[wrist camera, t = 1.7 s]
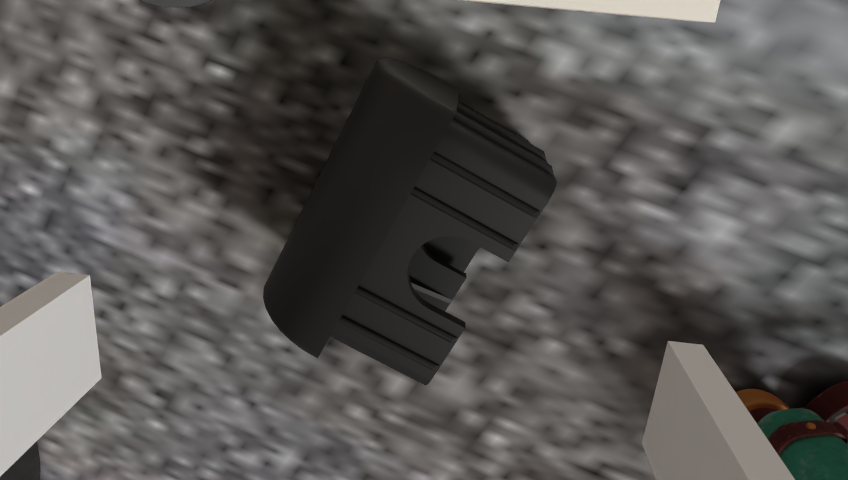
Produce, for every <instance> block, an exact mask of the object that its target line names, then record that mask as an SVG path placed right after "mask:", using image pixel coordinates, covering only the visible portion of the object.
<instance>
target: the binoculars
mask: <svg viewBox="0 0 848 480" xmlns="http://www.w3.org/2000/svg"><path fill="white" fill-rule="evenodd" d="M736 394H737V395H738V397H739V398H740V400H741V401H742V403H743V404H744V406H745V407H746V408H747V410H748V411H749V413H750V414H751V416H752V417H753V419H754V420H755V422H756V423H757V425H758V426H759V427H760V429H761V430H762V432H763V433H764V435H765V436H766V438H767V439H768V441H769V442H770V444H771V445H772V447H773V448H774V449H775V451H776V452H777V454H778V455H779V457H780V458H781V460H782V461H783V463H784V464H785V466H786V467H787V469H788V470H789V471H790V473H791V474H792V476H793V477H794V479H795V480H848V380H847V381H844V382H841V383H838V384H836V385H834V386H832V387H830V388H828V389H826V390H825V391H823V392H822V393H820V394H819V395H817V396H816V397H815V398H814V399H813V400H812V401H811V402H809V403H808V405H807V406H806V407H803V408H793V409H789V408H788V407H787V406H786V405H785V404H784V403H783V402H782V400H780V399H779V398H777V397H776V396H775V395H773V394H771V393H768V392H765V391H763V390H759V389H744V390H740V391H737V392H736Z"/></svg>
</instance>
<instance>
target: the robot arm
mask: <svg viewBox="0 0 848 480" xmlns="http://www.w3.org/2000/svg"><path fill="white" fill-rule="evenodd" d="M100 379H101V370H100V361H99V352H98V343H97V335H96V326H95V317H94V308H93V299H92V290H91V282H90V275H83V274H75V273H66V272H56V273H54V274H53V275H51V276H50V277H48V278H46V279H45V280H43V281H41V282H40V283H38V284H37V285H35V286H33V287H32V288H30V289H29V290H27V291H25V292H24V293H22V294H20V295H19V296H17V297H16V298H14V299H12V300H11V301H9V302H7V303H6V304H4V305H3V306H1V307H0V480H40V458H39V451H38V446H37V443H36V441H37V440H38V439H39V438H40V437H41V436H42V435H43V434H44V433H45V432H46V431H48V430H49V429H50V428H51V427H52V426H53V425H54V424H55V423H56V422H57V421H58V420H59V419H60V418H61V417H62V416H63V415H64V414H65V413H66V412H67V411H68V410H69V409H70V408H71V407H72V406H73V405H74V404H75V403H76V402H77V401H78V400H79V399H80V398H81V397H82V396H83V395H84V394H85V393H86V392H88V391H89V390H90V389H91V388H92V387H93V386H94V385H95V384H96V383H97V382H98V381H99V380H100ZM642 445H643V448H644V450H645V453H646V456H647V458H648V461H649V463H650V466H651V469H652V471H653V474H654V477H655V479H656V480H795V479H794V477H793V476H792V474H791V473H790V471H789V470H788V469H787V467H786V466H785V464H784V463H783V461H782V460H781V458H780V457H779V455H778V454H777V452H776V451H775V449H774V448H773V447H772V445H771V444H770V442H769V441H768V439H767V438H766V436H765V435H764V433H763V432H762V430H761V429H760V427H759V426H758V425H757V423H756V422H755V420H754V419H753V417H752V416H751V414H750V413H749V411H748V410H747V408H746V407H745V406H744V404H743V403H742V401H741V400H740V398H739V397H738V395H737V394H736V392H735V391H734V389H733V388H732V386H731V385H730V384H729V382H728V381H727V379H726V378H725V376H724V375H723V373H722V372H721V370H720V369H719V367H718V366H717V364H716V363H715V362H714V360H713V359H712V357H711V356H710V354H709V353H708V351H707V350H706V348H705V347H704V345H700V344H691V343H682V342H673V341H668V342H667V346H666V350H665V354H664V358H663V362H662V366H661V370H660V374H659V378H658V382H657V386H656V390H655V393H654V397H653V401H652V405H651V409H650V413H649V417H648V421H647V425H646V429H645V433H644V437H643V441H642Z"/></svg>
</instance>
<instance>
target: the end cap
mask: <svg viewBox="0 0 848 480" xmlns="http://www.w3.org/2000/svg"><path fill="white" fill-rule="evenodd" d="M458 97H459V89H457V88H455V87H453V86H452V85H450V84H448V83H446V82H444V81H442V80H440V79H439V78H437V77H435V76H433V75H431V74H429V73H427V72H425V71H423V70H420V69H418V68H416V67H414V66H411V65H409V64H407V63H404V62H401V61H399V60H396V59H391V58H381V59H379V60H378V61H377V62H376V64H375V66H374V68H373V70H372V72H371V74H370V76H369V78H368V80H367V82H366V84H365V86H364V88H363V90H362V92H361V94H360V96H359V98H358V100H357V102H356V104H355V106H354V108H353V110H352V112H351V114H350V116H349V118H348V120H347V122H346V124H345V126H344V128H343V130H342V132H341V134H340V136H339V138H338V140H337V142H336V144H335V146H334V148H333V150H332V152H331V154H330V156H329V158H328V160H327V162H326V164H325V166H324V168H323V170H322V172H321V174H320V176H319V178H318V180H317V182H316V184H315V186H314V188H313V190H312V192H311V194H310V196H309V198H308V200H307V202H306V204H305V206H304V208H303V210H302V212H301V214H300V216H299V218H298V220H297V222H296V224H295V226H294V228H293V230H292V232H291V234H290V236H289V238H288V240H287V242H286V244H285V246H284V248H283V250H282V252H281V254H280V256H279V258H278V260H277V262H276V264H275V266H274V268H273V270H272V272H271V274H270V276H269V278H268V280H267V282H266V284H265V286H264V293H263V299H264V303H265V307H266V310H267V312H268V314H269V315H270V317H271V319H272V321H273V322H274V323H275V325H276V326H277V327H278V328H279V330H280V331H281V332H282V333H283V334H284V335H285V336H286V337H287V338H288V339H290V340H291V341H292V342H293V343H295V344H296V345H297V346H299V347H300V348H301V349H303V350H304V351H306V352H308V353H309V354H311V355H313V356H314V357H316V358H318V357H319V355H320V353H321V351H322V350H323V348H324V346H325V344H326V342H327V341H328V339H329V337H332V338H334V339H336V340H338V341H340V342H342V343H344V344H346V345H348V346H350V347H352V348H354V349H355V350H357V351H359V352H361V353H363V354H365V355H367V356H369V357H371V358H373V359H375V360H377V361H379V362H381V363H383V364H385V365H387V366H389V367H391V368H393V369H395V370H397V371H398V372H400V373H402V374H404V375H406V376H408V377H410V378H412V379H414V380H416V381H418V382H420V383H422V384H424V385H427V384H428V383H429V382H430V381H431V379H432V378H433V376H434V375H435V373H436V372H437V370H438V369H439V367H440V366H441V364H442V363H443V361H444V360H445V358H446V357H447V355H448V354H449V352H450V351H451V349H452V348H453V346H454V344H455V343H456V341H457V340H458V338H459V337H460V335H461V334H462V332H463V331H464V329H465V322H464V321H462V320H460V319H458V318H456V317H454V316H452V315H451V314H449V313H447V312H445V311H446V309H447V307H448V306H449V304H450V303H451V301H452V300H453V298H454V296H455V295H456V293H457V292H458V290H459V288H460V287H461V285H462V284H463V282H464V281H465V279H466V273H464V271H465V269H466V268H467V266H468V265H469V263H470V261H471V260H472V258H473V257H474V255H475V253H476V252H477V250H478V249H479V247H482V248H483V249H485V250H487V251H489V252H491V253H493V254H495V255H496V256H498V257H500V258H502V259H504V260H506V261H507V262H509V261H510V259H511V258H512V256H513V255H514V253H515V251H516V250H517V248H518V247H519V245H520V244H521V242H522V241H523V239H524V238H525V236H526V235H527V233H528V232H529V230H530V229H531V227H532V226H533V224H534V222H535V221H536V219H537V218H538V216H539V215H540V213H541V212H542V210H543V209H544V207H545V206H546V204H547V203H548V201H549V199H550V198H551V196H552V194H553V192H554V189H555V187H556V183H557V182H556V179H555V177H554V174H553V170H552V166H551V165H549V164H548V163H547V161H546V158H545V154H544V151H542V150H540V149H539V148H537V147H535V146H533V145H532V144H531V143H530V142H529V141H528V140H526V139H524V138H523V137H521V136H519V135H517V134H516V133H514V132H512V131H510V130H509V129H507V128H505V127H503V126H502V125H500V124H498V123H496V122H495V121H493V120H491V119H489V118H488V117H486V116H484V115H482V114H481V113H479V112H477V111H475V110H474V109H472V108H470V107H468V106H467V105H465V104H463V103H461V102H460V101H458Z"/></svg>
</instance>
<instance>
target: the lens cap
mask: <svg viewBox="0 0 848 480" xmlns="http://www.w3.org/2000/svg"><path fill="white" fill-rule="evenodd" d="M142 1H144V2H147V3H150V4H153V5H156V6H163V7H182V8H185V7H193V6H198V5H201V4H205V3H207V2H209V1H211V0H142Z"/></svg>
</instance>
